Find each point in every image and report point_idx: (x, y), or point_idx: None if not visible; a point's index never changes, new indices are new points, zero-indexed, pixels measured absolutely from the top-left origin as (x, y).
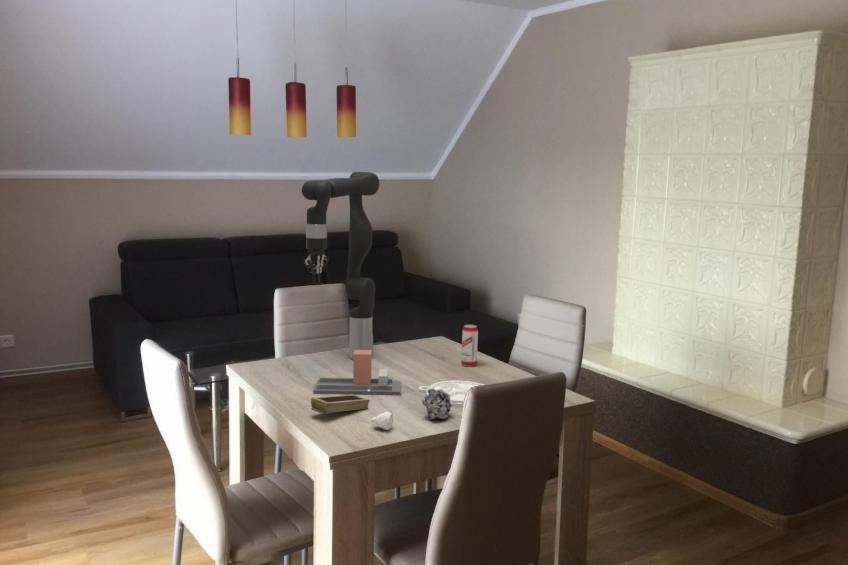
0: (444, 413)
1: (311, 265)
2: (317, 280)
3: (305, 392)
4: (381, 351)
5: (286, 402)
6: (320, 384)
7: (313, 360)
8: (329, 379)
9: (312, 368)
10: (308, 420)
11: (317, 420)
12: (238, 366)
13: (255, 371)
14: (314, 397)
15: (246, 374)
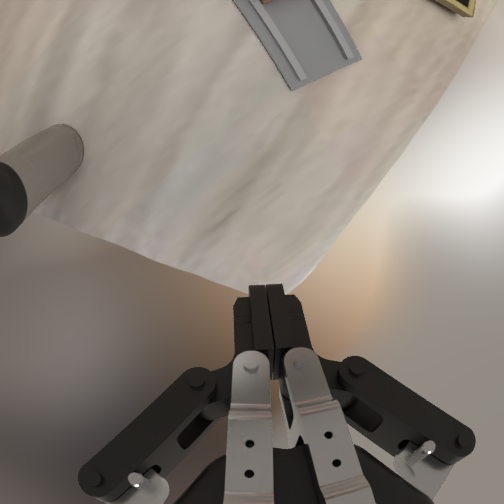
0: None
1: (425, 413)
2: (285, 301)
3: (359, 79)
4: None
5: (422, 84)
6: (347, 51)
7: (147, 213)
8: (294, 56)
9: (197, 173)
10: None
11: None
12: None
13: (288, 250)
14: (467, 12)
15: (313, 250)
